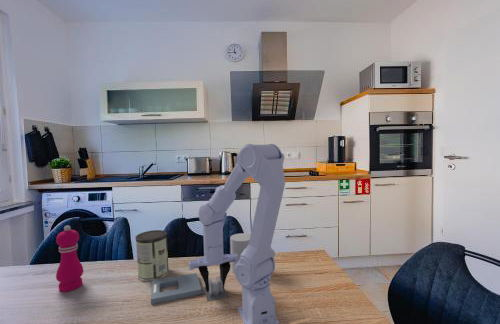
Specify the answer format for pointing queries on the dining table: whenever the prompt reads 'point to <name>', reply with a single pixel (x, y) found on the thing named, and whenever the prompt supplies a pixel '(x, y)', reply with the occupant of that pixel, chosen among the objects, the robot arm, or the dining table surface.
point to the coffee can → (152, 255)
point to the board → (186, 289)
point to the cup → (238, 246)
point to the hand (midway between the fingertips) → (214, 288)
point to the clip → (215, 287)
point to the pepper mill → (69, 261)
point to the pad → (215, 296)
